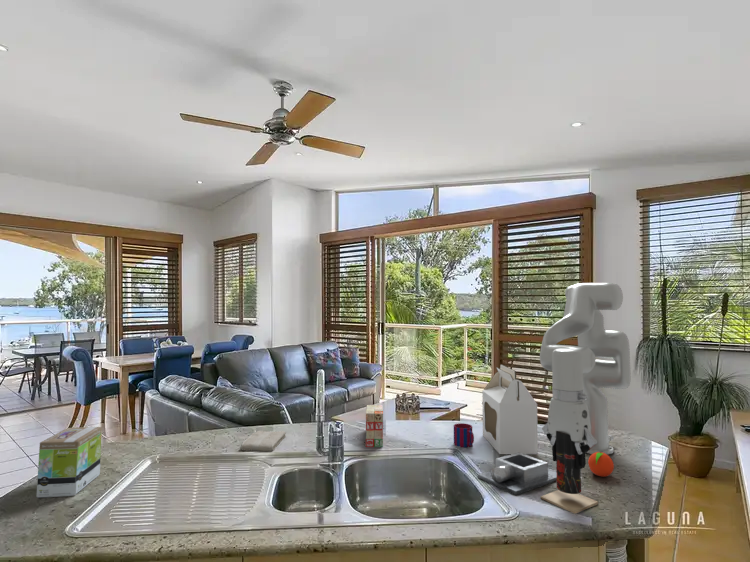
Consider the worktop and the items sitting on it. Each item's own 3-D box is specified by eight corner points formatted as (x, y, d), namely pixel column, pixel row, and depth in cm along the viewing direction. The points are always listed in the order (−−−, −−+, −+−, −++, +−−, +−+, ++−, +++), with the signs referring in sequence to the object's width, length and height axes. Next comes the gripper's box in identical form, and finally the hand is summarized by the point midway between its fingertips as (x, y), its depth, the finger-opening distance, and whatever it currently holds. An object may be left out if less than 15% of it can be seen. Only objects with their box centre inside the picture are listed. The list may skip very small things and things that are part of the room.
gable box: (482, 435, 175) (481, 363, 176) (515, 434, 175) (515, 363, 176) (500, 455, 153) (499, 372, 154) (538, 454, 153) (537, 372, 154)
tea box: (76, 496, 120) (78, 440, 121) (35, 499, 119) (37, 442, 119) (101, 474, 135) (102, 425, 136) (64, 476, 134) (66, 426, 134)
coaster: (563, 490, 125) (563, 487, 125) (598, 503, 116) (598, 501, 116) (540, 498, 119) (540, 496, 119) (575, 513, 111) (575, 511, 111)
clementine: (609, 483, 129) (608, 458, 130) (583, 477, 134) (583, 453, 134) (616, 475, 135) (616, 451, 135) (592, 469, 140) (592, 446, 140)
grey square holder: (526, 463, 145) (526, 447, 145) (565, 477, 133) (565, 460, 134) (477, 477, 133) (477, 460, 133) (515, 495, 122) (515, 476, 122)
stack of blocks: (367, 429, 182) (367, 399, 182) (382, 429, 182) (382, 399, 182) (365, 447, 161) (365, 412, 161) (383, 447, 160) (383, 412, 161)
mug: (467, 441, 167) (467, 422, 168) (479, 450, 158) (479, 430, 158) (450, 442, 166) (450, 423, 166) (462, 451, 156) (462, 431, 156)
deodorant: (583, 494, 114) (582, 435, 115) (559, 492, 116) (558, 434, 116) (578, 485, 120) (577, 429, 121) (554, 483, 121) (553, 427, 122)
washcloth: (287, 437, 173) (287, 429, 174) (273, 453, 155) (273, 444, 156) (256, 436, 174) (257, 428, 174) (240, 452, 156) (240, 443, 156)
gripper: (607, 400, 114) (608, 472, 113) (548, 388, 128) (549, 452, 128) (590, 403, 110) (591, 478, 109) (531, 391, 124) (532, 457, 124)
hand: (568, 463), depth 118 cm, fingers closed on deodorant, 6 cm apart
